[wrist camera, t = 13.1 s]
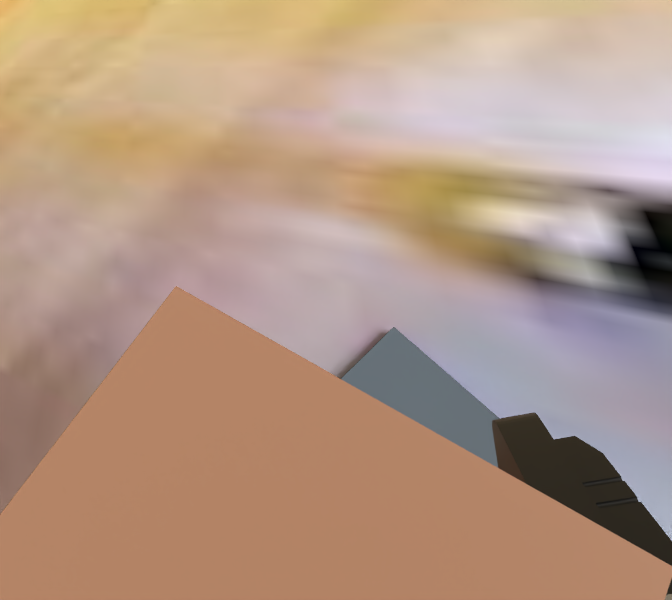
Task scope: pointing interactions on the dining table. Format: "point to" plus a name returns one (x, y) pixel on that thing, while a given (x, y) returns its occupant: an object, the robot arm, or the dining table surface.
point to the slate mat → (424, 394)
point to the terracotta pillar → (284, 492)
